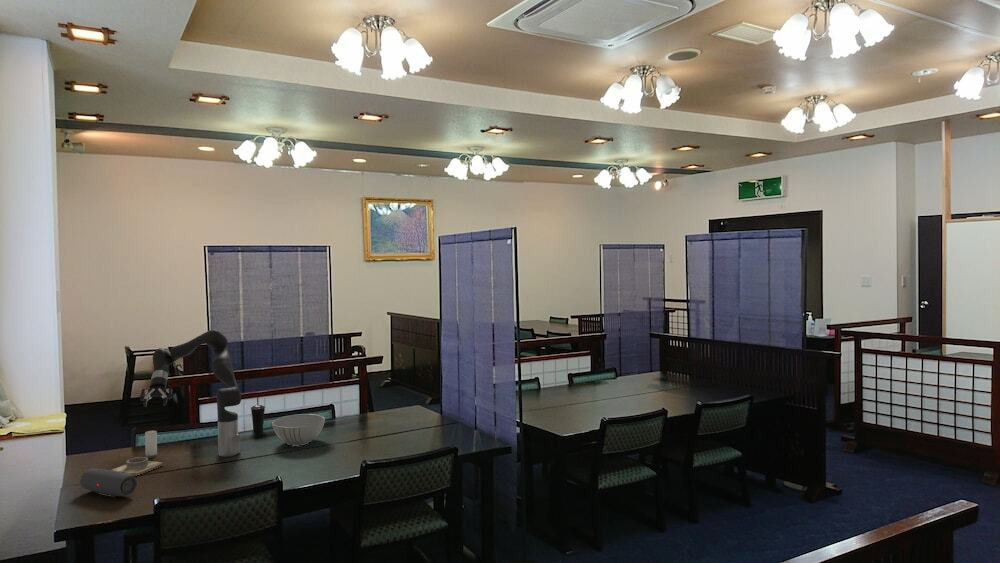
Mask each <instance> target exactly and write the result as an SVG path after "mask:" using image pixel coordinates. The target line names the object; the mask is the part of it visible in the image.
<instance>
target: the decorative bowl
mask: <svg viewBox="0 0 1000 563" xmlns="http://www.w3.org/2000/svg"><path fill="white" fill-rule="evenodd" d="M325 423H326V418H325V417H324V416H322V415H318V414H314V413H313V414H312V413H301V414H292V415H291V414H290V415H289V414H288V415H285V416H282V417H278V418H275V419H274V420H272V422H271V427H272V429H273V431H274V433H275V434H276V436H277V437H278V438H279V439H280V440H281V441H282V442H284V443H286V445H287V444H288V445H302V444H307V443H309V442H311V443H312V441H313V440H315V439H316V438H317V436H319V435H320V433H321V432H322V430H323V428H324V426H325ZM288 445H287V446H288Z"/></svg>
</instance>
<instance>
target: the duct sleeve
mask: <svg viewBox="0 0 1000 563" xmlns="http://www.w3.org/2000/svg"><path fill="white" fill-rule="evenodd" d="M157 433H158V431H157V430H148V431H145V432H144V442H145V444H144V445H145V446H144V448H145V455H144V457H147V458H148V459H149V458H151V459H152V458H156V457H158V435H157Z"/></svg>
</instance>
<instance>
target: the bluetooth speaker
mask: <svg viewBox="0 0 1000 563" xmlns="http://www.w3.org/2000/svg"><path fill="white" fill-rule="evenodd" d="M111 470H112V469H103V468H89V469H87V470H85V471H84V473H82V475H81V478H80V481H79V482H80V485H81V488H83V489H86V490H88V491H92V492H95V493H97V494H98V493H101V494H106V495H111V496H118V497H129V496H131V495H132V494H133V493H134V492H135V491H136V489H137V487H138V480H137V478H136V477H134V476H132V475H129V474H125V473H121V472H116V471H111Z"/></svg>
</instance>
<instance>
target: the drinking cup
mask: <svg viewBox="0 0 1000 563" xmlns="http://www.w3.org/2000/svg"><path fill="white" fill-rule="evenodd" d="M265 408H266V406H265V405H263V404H259V395H257V396H256V405H253V406H251V407H250V410H251V420H252V428H253V433H261V432H263V431H264V420H265Z"/></svg>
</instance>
